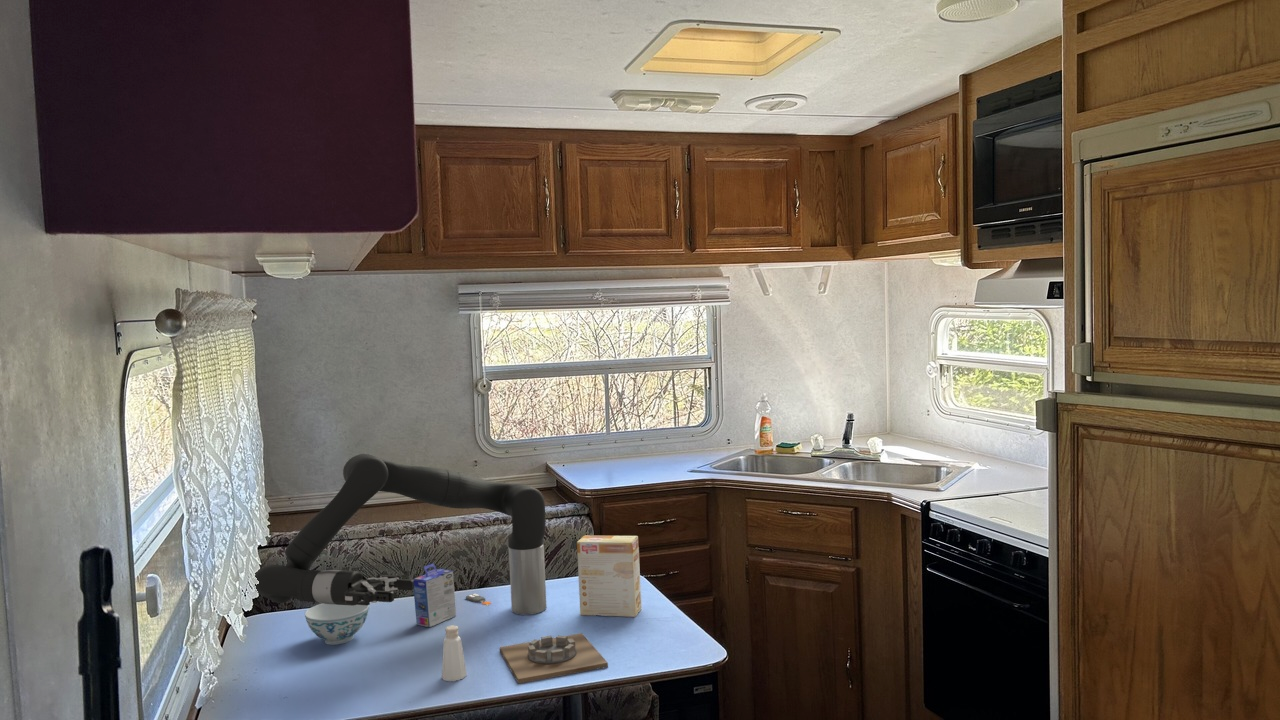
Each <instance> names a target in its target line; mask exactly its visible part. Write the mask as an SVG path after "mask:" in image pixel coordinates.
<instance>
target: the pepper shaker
mask: <svg viewBox="0 0 1280 720" xmlns="http://www.w3.org/2000/svg"><path fill="white" fill-rule="evenodd" d="M444 630H445V638H444V639H443V644H442V645H443V646H442V647H443V648H442V649H443V650H442V669H441V677H442V679H443V681H444V682H451V681H453V682H457V681H456V680H458V681H461V680H460V679H462V680H464V679H465V678H466V677H467V676H468V674H467V668H466V661H465V656H464V655H465V654H464V649H463V642H462V639H461V637H460V636H459V626H457V625H448V626H447V627H445V628H444ZM466 675H467V676H466ZM465 676H466V677H465Z"/></svg>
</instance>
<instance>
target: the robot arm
mask: <svg viewBox="0 0 1280 720" xmlns="http://www.w3.org/2000/svg"><path fill="white" fill-rule="evenodd" d="M342 475H343V479H344V484H343V485H342V487H341V488H340V489H339V491H338V492H337V494H336V495H335V496H334V497H333V498H332V499H331V500H330V501H329V502H328V504H326V506H324V507H323V508H322V509H321V510H320V511H318V512H317V514H315V515H314V516H313V517H312V518H311V519H309V521H308V522H307V523H306V524H305V525H304V526H303V527H302V528H301V529H300V530H299V532H298V533H297V534H296V535H295V537H294V538H293V539H292V540H291V541H290V543H289V544H288V545H287V547H286V548H285V550H284V554H285V556H286V558H287V559H288V560H287V561H286V562H287V563H286V565H282V564H269V565H266V566H263V567H261V568H260V569H259V570H257V572H256V573H255V574H256V575H254V576H255V577H256V578H257V580H258V581H259V584H257V585H256V584H255V586H256V589H257V591H258V592H257V591H256V592H257V594H259V595H260V596H261V597H264V598H266V599H267V600H270V601H272V602H274V603H278V604H283V603H287V602H288V601H290V600H292V599H295V600H298V601H301V602H307V603H320V604H322V603H324V604H334V605H350V606H354V605H366V606H367V605H369V606H370V603H372V604H376V603H377V602H379V603H382V602H383V603H392V602H394V601H395V593H394V591H398V590H399V591H412V590H413V591H414V581H413V579H405V578H403V579H402V577H401V576H402V575H400V574H376V575H375V577H374V576H373V577H368V578H366V577H365V575H364V574H363V573H362V572H361V571H358V570H342V569H341V570H340V569H339V570H338V569H327V570H316V569H315V570H314V569H311V567H312V565H313V564H314V562H315V561H317V559H318V558H319V557H320V556H321V554H322V553H323V551H325V549H326V548H327V546H329V544H330V542H332V540H333V539H334V538H335V536H336V535H337V534H338V532H340V530H341V529H342V528H343V527H344V526H345V525H346V524H347V522H348V521H350V520H351V518H352V517H353V516H354V515H355V514H356V513H357V512H358V511H359V510H360V509H361V508H363V506H364V505H365V504H366V503H367V502H368V501H369V500H370V499H372V498H374V496H375V495H376V494H378V492H383V493H391V494H398V495H401V496H403V497H406V498H410V499H413V500H416V501H419V502H422V503H425V504H429V505H432V506H433V505H434V506H438V507H443V508H444V507H445V508H450V509H461V510H462V509H463V510H464V509H486V510H489V511H494V512H497V513H501V514H504V515H507V516H509V517H511V521H512V522H511V524H512V525H511V527H512V528H511V531H512V532H511V534H509V536H508V538H507V542H508V543H507V544H508V547H507V548H508V561H509V562H508V564H509V581H510V583H509V584H510V601H511V612H512V613H514V614H517V615H523V616H525V615H535V614H536V615H537V614H539V613H542V612H543V611H546V610H547V590H546V589H547V588H546V587H547V586H546V570H545V568H546V566H545V547H544V546H545V545H544V537H545V534H546V501H545V498H544V496H543V494H542V491H540V490H538V489H537V488H535V487H532V486H530V485H528V484H524V483H517V482H516V483H515V482H514V483H513V482H499V481H491V480H487V479H485V478H484V479H483V478H480V477H479V476H475V475H472V474H468V473H464V472H460V471H456V470H449V469H446V468H438V467H430V466H419V465H407V464H402V463H397V462H394V461H390V460H386V459H384V458H383V459H382V458H379V457H377V456H374V455H373V454H369V453H360V454H357V455H355V456H353V457H351V458H349V459H348V460H347V461H346V463H345V464H344V466H343V469H342ZM361 600H363V601H361Z"/></svg>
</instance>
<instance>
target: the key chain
mask: <svg viewBox="0 0 1280 720" xmlns="http://www.w3.org/2000/svg"><path fill="white" fill-rule="evenodd" d="M465 599H466V600H467V601H470V602H473V603H479V604H480V603H481V604H482V605H483V606H485V605H486V606H487V607H488V605H489V606H490V605H491V604H492V602H491V601H486V598H485V597H483V596H481V595H479V594H477V593H472V594H468V595H467V596H465Z"/></svg>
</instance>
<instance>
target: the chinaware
mask: <svg viewBox="0 0 1280 720" xmlns="http://www.w3.org/2000/svg"><path fill="white" fill-rule="evenodd" d="M361 601H363V600H361ZM369 610H370V605H367V606H366V605H354V606H350V605H334V604H324V603H320V604H316V605H314V606H312V607H310V608H308V609H307V610H305V612H304V617H305V621H306V623H307V625H308V627H309V629H310V630H311V632H312V633H314V635H315V636H316V637H318V638H320V639H322V640H324V643H325V644H327V645H333V646H334V645H341V644H346V643H349V642H350V641H352V640H353V639H354V636H355V634H356V633H358V632H359V631H360V630H361V628H362V627H363V625H364V624H365V622H366V621H367V617H368V614H369Z"/></svg>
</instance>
